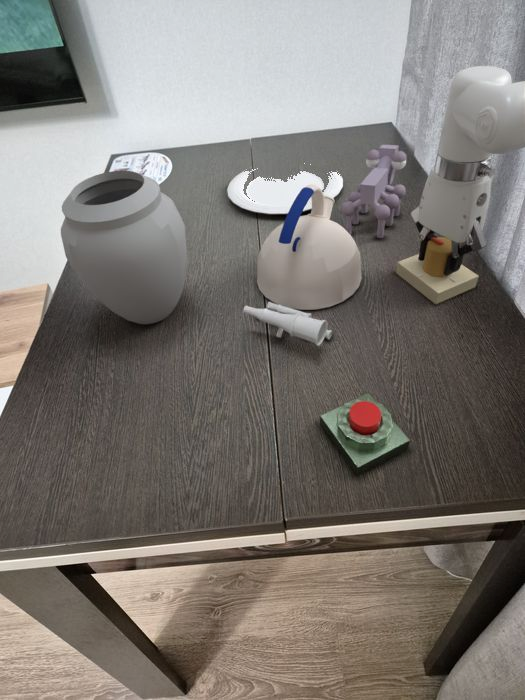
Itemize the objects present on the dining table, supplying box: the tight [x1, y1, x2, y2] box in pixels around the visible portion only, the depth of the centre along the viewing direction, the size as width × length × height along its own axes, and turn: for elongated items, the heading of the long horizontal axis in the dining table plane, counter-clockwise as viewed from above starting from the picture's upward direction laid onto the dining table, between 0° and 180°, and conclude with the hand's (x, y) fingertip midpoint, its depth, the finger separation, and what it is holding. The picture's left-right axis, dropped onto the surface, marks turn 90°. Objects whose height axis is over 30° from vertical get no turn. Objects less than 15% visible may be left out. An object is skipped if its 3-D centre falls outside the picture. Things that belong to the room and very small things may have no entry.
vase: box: [60, 170, 188, 325], centre depth 74 cm, size 20×20×24 cm
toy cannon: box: [242, 301, 333, 347], centre depth 72 cm, size 8×14×5 cm
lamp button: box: [349, 401, 381, 434], centre depth 56 cm, size 4×4×2 cm
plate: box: [226, 163, 344, 216], centre depth 110 cm, size 29×29×2 cm
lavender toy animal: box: [340, 144, 408, 239], centre depth 94 cm, size 20×11×14 cm, turn 150°
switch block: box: [319, 392, 411, 476], centre depth 58 cm, size 9×8×4 cm
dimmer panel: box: [395, 253, 480, 305], centre depth 80 cm, size 11×9×3 cm
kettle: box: [256, 184, 363, 311], centre depth 79 cm, size 20×21×18 cm
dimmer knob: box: [423, 236, 452, 277], centre depth 78 cm, size 5×5×5 cm
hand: (438, 264), depth 79 cm, fingers closed on dimmer knob, 5 cm apart
